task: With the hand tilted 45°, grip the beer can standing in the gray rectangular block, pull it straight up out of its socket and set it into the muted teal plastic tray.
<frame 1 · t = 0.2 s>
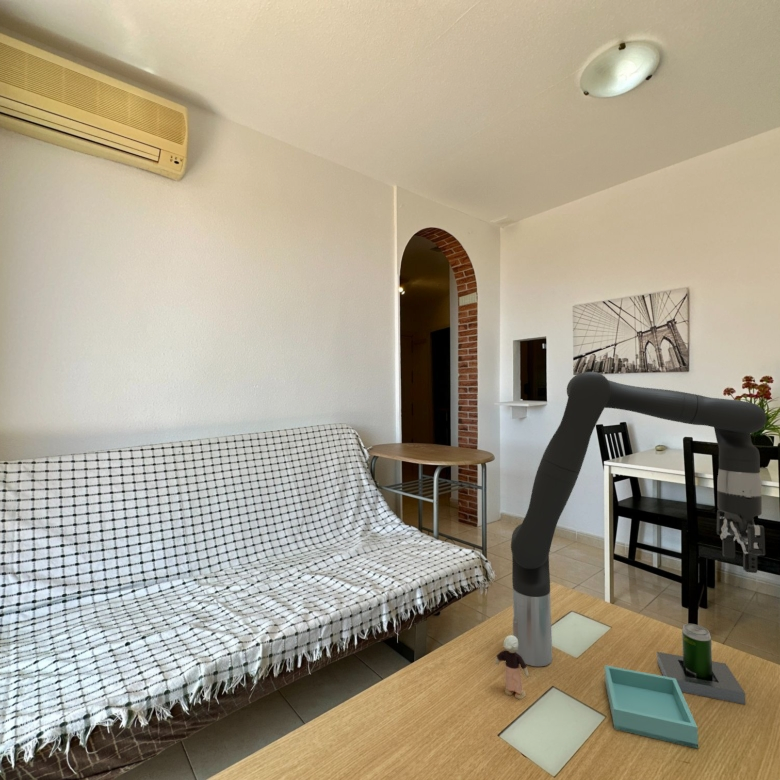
hand: (739, 564, 91), 29 cm above the table, tool pointing down, fingers open, 8 cm apart
tray: (646, 712, 86), on the table
grandmother figurine: (512, 692, 93), on the table
gray rectangular block: (697, 681, 95), on the table
beer can: (697, 682, 95), resting in gray rectangular block
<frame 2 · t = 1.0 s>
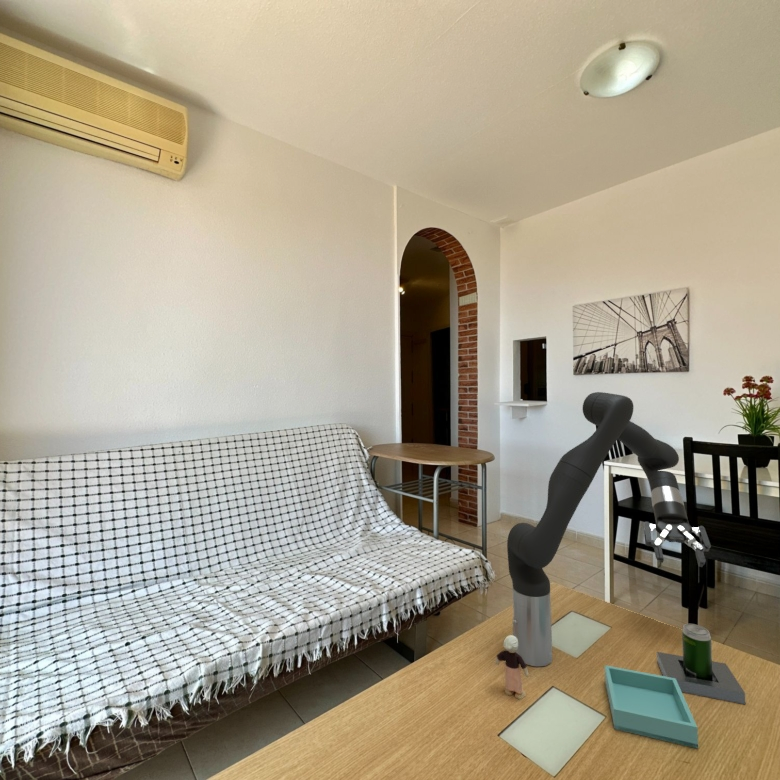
hand: (681, 563, 105), 23 cm above the table, tool tilted 45°, fingers open, 8 cm apart
nothing on the table moved.
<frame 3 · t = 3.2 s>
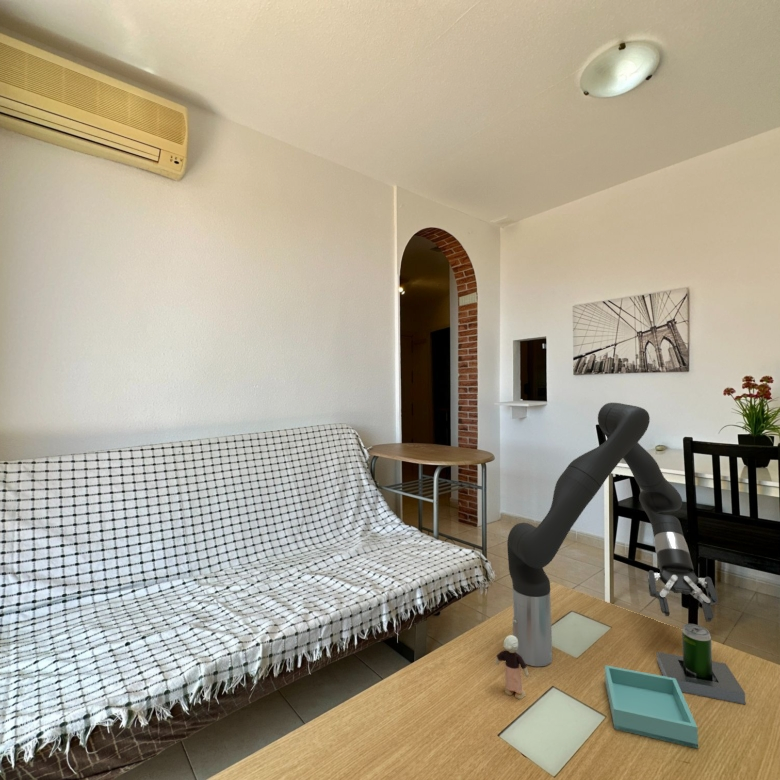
hand: (688, 618, 100), 12 cm above the table, tool tilted 45°, fingers open, 8 cm apart
nothing on the table moved.
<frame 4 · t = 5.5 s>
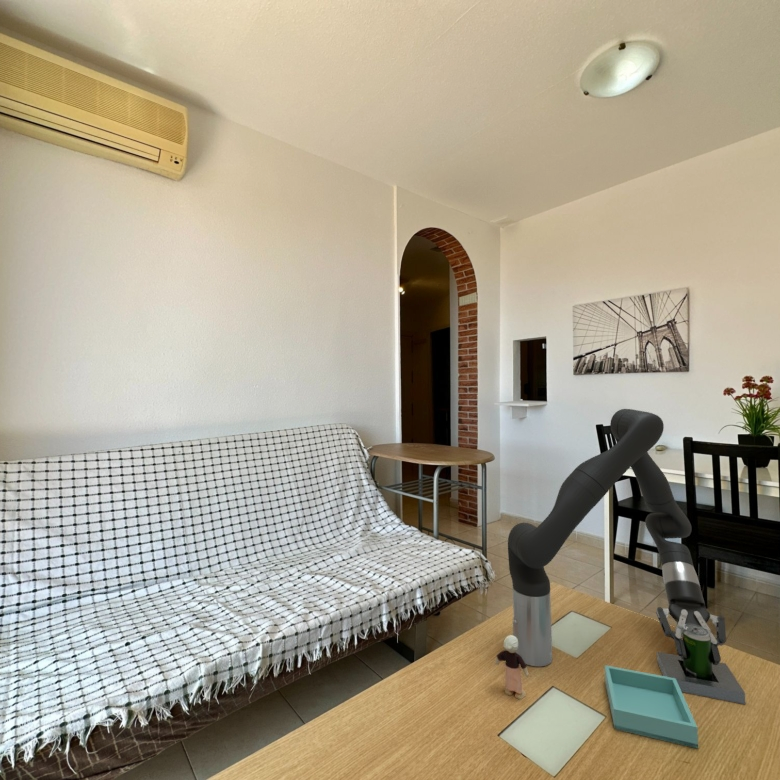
hand: (699, 661, 93), 6 cm above the table, tool tilted 45°, fingers closed on beer can, 5 cm apart
beer can: (698, 682, 95), resting in gray rectangular block, touching gripper
everything else where it was.
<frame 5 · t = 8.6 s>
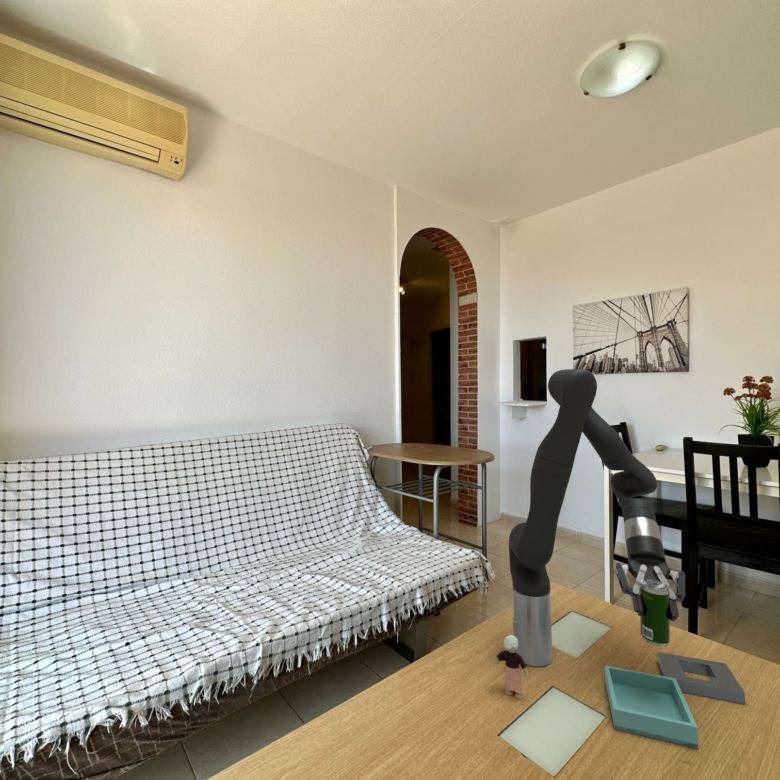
hand: (656, 617, 87), 20 cm above the table, tool tilted 45°, fingers closed on beer can, 5 cm apart
beer can: (654, 640, 89), point 14 cm above the table, touching gripper
everything else where it was.
when the fingers open (8 cm above the table, at t = 11.8 s): beer can drops 1 cm, resting on tray.
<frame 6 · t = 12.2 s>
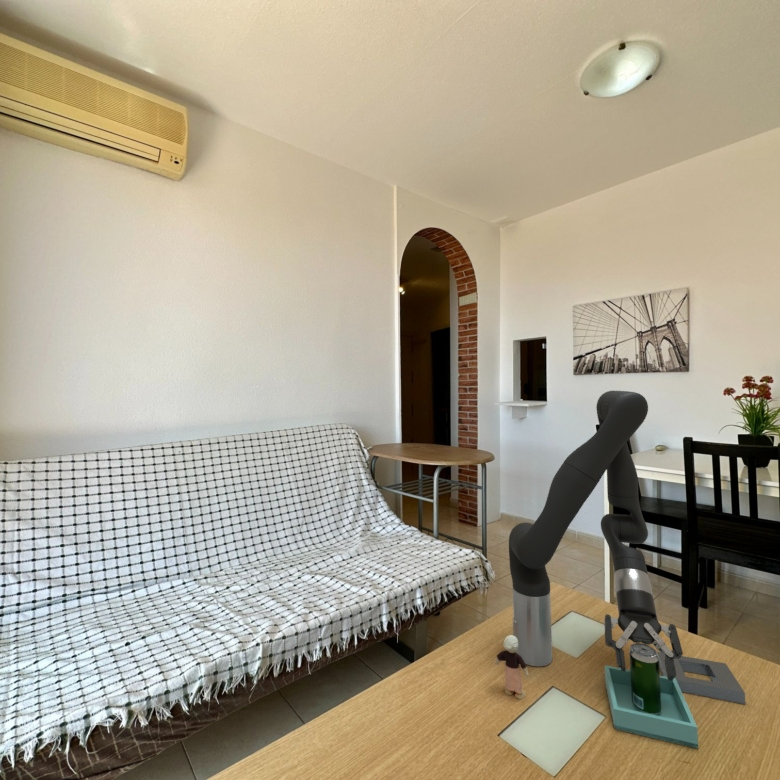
hand: (646, 675, 85), 9 cm above the table, tool tilted 45°, fingers open, 8 cm apart
beer can: (646, 708, 87), point 1 cm above the table, touching tray
everything else where it was.
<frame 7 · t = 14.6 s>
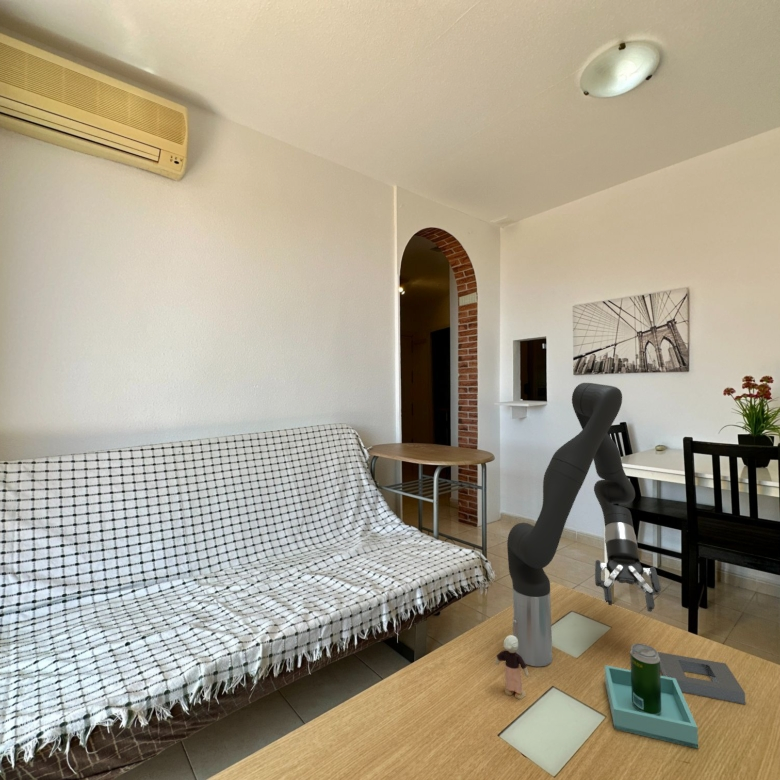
hand: (629, 607, 100), 15 cm above the table, tool tilted 45°, fingers open, 8 cm apart
nothing on the table moved.
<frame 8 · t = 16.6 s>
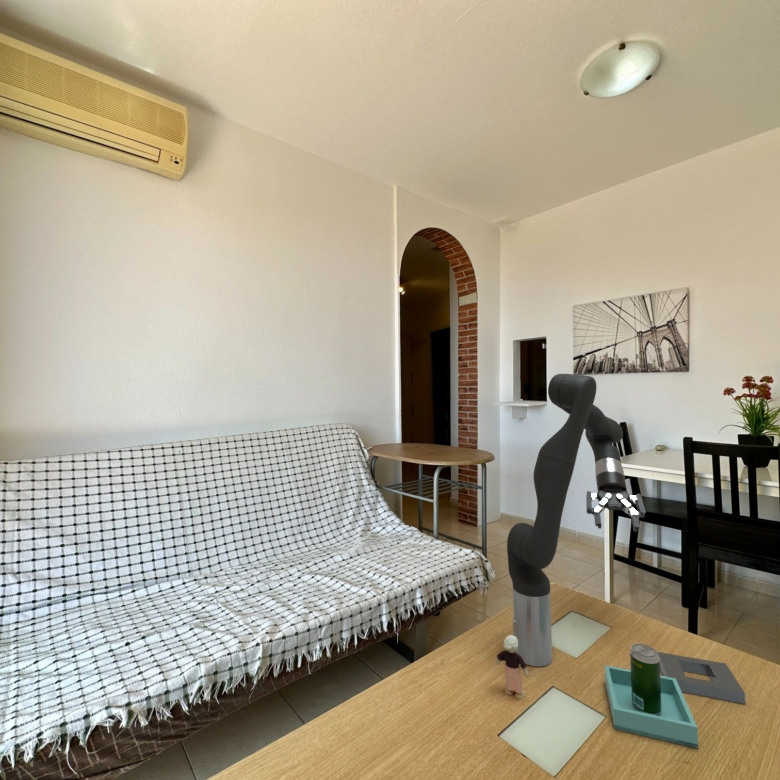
hand: (617, 528, 110), 31 cm above the table, tool tilted 45°, fingers open, 8 cm apart
nothing on the table moved.
at the end: beer can inside the target area on the tray (0.2 cm from its centre), point 0.6 cm above the tray's base; the gripper is holding nothing; beer can tilted 0° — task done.
